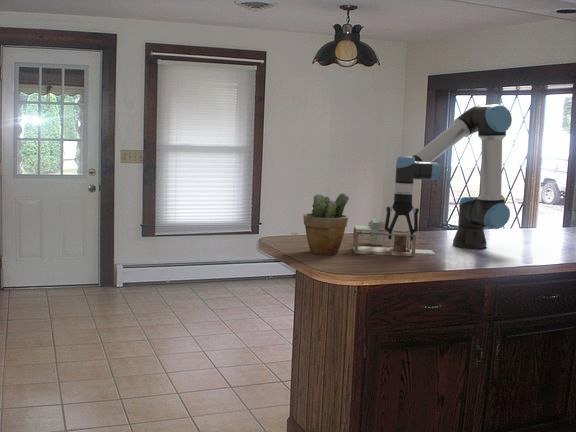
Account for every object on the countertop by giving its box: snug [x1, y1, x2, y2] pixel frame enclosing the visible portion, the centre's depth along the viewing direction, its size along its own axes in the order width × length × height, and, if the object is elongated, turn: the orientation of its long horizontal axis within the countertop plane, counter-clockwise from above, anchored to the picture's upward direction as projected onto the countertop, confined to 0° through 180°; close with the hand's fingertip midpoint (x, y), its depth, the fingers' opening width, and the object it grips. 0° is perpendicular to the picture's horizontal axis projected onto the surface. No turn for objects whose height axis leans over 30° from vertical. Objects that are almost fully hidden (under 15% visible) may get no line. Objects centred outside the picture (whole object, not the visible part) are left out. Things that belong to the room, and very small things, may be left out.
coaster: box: [411, 248, 436, 256], centre depth 297 cm, size 9×9×1 cm
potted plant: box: [302, 192, 350, 256], centre depth 284 cm, size 18×19×25 cm
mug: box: [359, 220, 387, 246], centre depth 314 cm, size 8×13×10 cm, turn 78°
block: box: [393, 236, 408, 252], centre depth 293 cm, size 4×4×8 cm
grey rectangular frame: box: [351, 227, 417, 257], centre depth 293 cm, size 25×12×9 cm, turn 89°
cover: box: [353, 218, 379, 233], centre depth 292 cm, size 9×12×4 cm
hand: (399, 247), depth 293 cm, fingers open, 6 cm apart
